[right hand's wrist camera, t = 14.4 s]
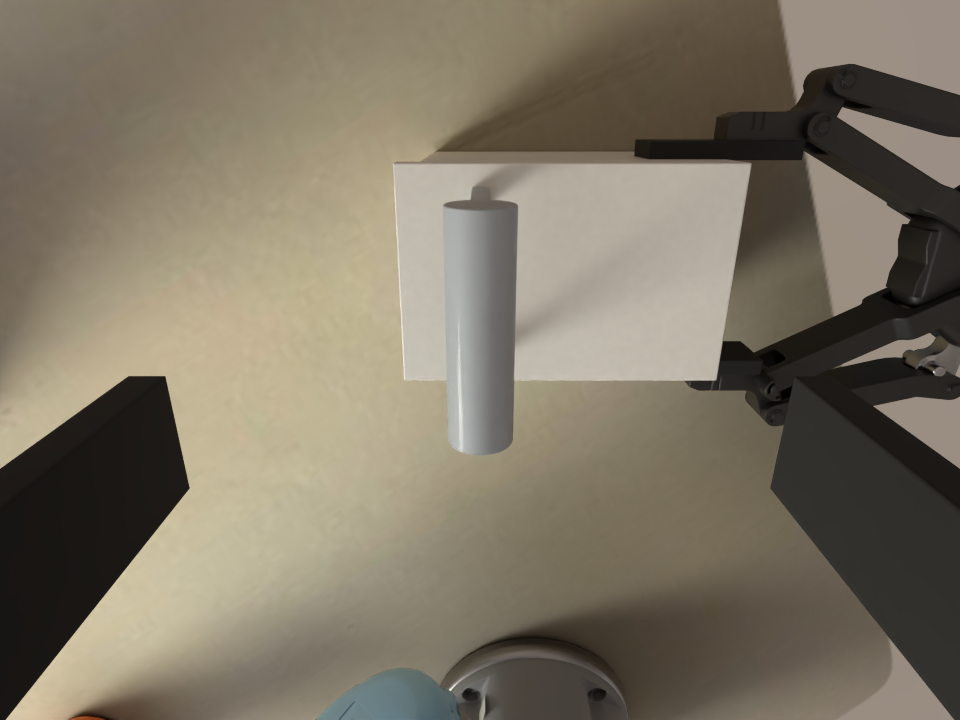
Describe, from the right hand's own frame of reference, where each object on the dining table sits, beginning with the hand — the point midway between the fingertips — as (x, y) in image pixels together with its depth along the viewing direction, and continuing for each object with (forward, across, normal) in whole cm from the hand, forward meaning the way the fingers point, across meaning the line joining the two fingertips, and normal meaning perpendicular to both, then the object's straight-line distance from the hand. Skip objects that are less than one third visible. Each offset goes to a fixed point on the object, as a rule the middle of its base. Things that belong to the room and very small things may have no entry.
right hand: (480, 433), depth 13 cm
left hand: (+17, -7, 0) cm, 18 cm away
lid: (+14, -4, 0) cm, 14 cm away
